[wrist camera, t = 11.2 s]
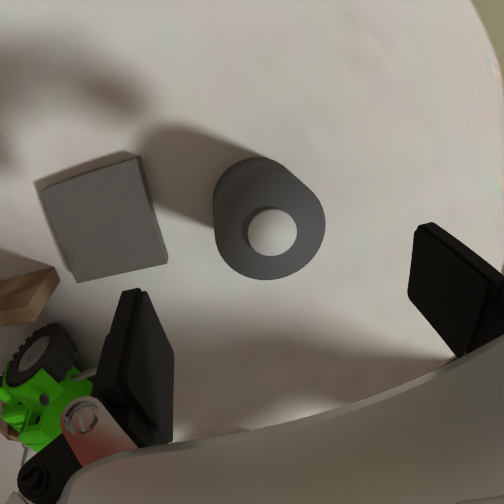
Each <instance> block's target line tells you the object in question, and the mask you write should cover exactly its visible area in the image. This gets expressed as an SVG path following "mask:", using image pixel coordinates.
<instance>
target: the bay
mask: <svg viewBox="0 0 504 504" xmlns="http://www.w3.org/2000/svg"><path fill="white" fill-rule="evenodd" d="M59 282H60V279H59V276H58V274H57V272H56V270H55V268H54V267H53V268H49V269H45V270H41V271H38V272H34V273H30V274H26V275H23V276H19V277H15V278H11V279H8V280H4V281H1V282H0V327H4V326H10V325H17V324H23V323H29V322H35V321H36V319H37V318H38V316H39V314H40V313H41V311H42V309H43V308H44V306H45V304H46V303H47V301H48V300H49V298H50V296H51V295H52V293H53V292H54V290H55V288H56V287H57V285H58V284H59ZM2 404H6V403H5V402H4V401H3V400H1V399H0V433H1V434H2V435H4V436H5V437H6V438H7V439H8V440H13V441H18V442H21V441H20V440H19V439H18V436H19V433H20V432H18V431H17V430H16V429H15V428H13V427H12V426H11V425H10V424H8V423H7V422H6V421H5V420H4V419H2V417H1V413H2V409H1V405H2Z"/></svg>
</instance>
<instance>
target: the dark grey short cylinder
mask: <svg viewBox="0 0 504 504" xmlns="http://www.w3.org/2000/svg"><path fill="white" fill-rule="evenodd" d="M213 215H214V231H215V240H216V245H217V248H218V251H219V253H220V255H221V256H222V258H223V259H224V261H225V262H226V263H227V264H228V265H229V266H230V267H231V268H232V269H233V270H235V271H236V272H238V273H239V274H242V275H244V276H246V277H249V278H253V279H258V280H274V279H279V278H283V277H286V276H289V275H291V274H293V273H295V272H297V271H298V270H300V269H301V268H303V267H304V266H305V265H306V264H308V263H309V262H310V260H311V259H312V258H313V257H314V256H315V254H316V253H317V251H318V250H319V248H320V246H321V243H322V241H323V237H324V233H325V215H324V211H323V208H322V206H321V203H320V201H319V200H318V198H317V197H316V195H315V194H314V193H313V192H312V191H311V190H310V189H309V188H308V187H307V186H306V185H305V184H303V183H302V182H301V181H300V180H299V179H298V178H297V177H296V176H294V175H293V174H292V173H291V172H290V171H289V170H288V169H286V168H285V167H284V166H283V165H281V164H280V163H278V162H275V161H273V160H270V159H265V158H250V159H246V160H243V161H240V162H238V163H236V164H234V165H233V166H231V167H230V168H229V169H227V170H226V171H225V172H224V173H223V175H222V176H221V177H220V179H219V181H218V182H217V184H216V187H215V190H214V194H213Z"/></svg>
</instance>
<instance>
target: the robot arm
mask: <svg viewBox="0 0 504 504" xmlns="http://www.w3.org/2000/svg"><path fill="white" fill-rule="evenodd" d="M407 292H408V297H409V299H410V301H411V302H412V303H413V304H414V305H415V306H416V308H417V309H418V310H419V311H420V312H421V313H422V315H423V316H424V317H425V318H426V319H427V321H428V322H429V323H430V324H431V325H432V327H433V328H434V329H435V330H436V332H437V333H438V334H439V335H440V336H441V338H442V339H443V340H444V341H445V343H446V344H447V345H448V346H449V348H450V349H451V350H452V352H453V353H454V354H455V355H456V357H457V358H458V359H456V360H455V361H453V362H451V363H449V364H447V365H445V366H443V367H441V368H438V369H436V370H434V371H432V372H430V373H427V374H425V375H423V376H421V377H419V378H416V379H414V380H412V381H409V382H407V383H404V384H402V385H400V386H397V387H395V388H392V389H389V390H387V391H384V392H382V393H379V394H376V395H374V396H371V397H368V398H365V399H362V400H360V401H357V402H354V403H351V404H348V405H345V406H342V407H338V408H335V409H332V410H329V411H325V412H322V413H319V414H315V415H312V416H308V417H305V418H301V419H297V420H293V421H289V422H285V423H281V424H277V425H273V426H268V427H264V428H259V429H254V430H249V431H244V432H239V433H234V434H228V435H223V436H217V437H211V438H205V439H198V440H191V441H184V442H176V443H170V444H168V443H169V442H172V441H173V384H174V353H173V350H172V347H171V345H170V343H169V341H168V339H167V337H166V334H165V332H164V330H163V328H162V326H161V323H160V321H159V319H158V316H157V314H156V312H155V310H154V307H153V305H152V302H151V300H150V298H149V295H148V293H147V292H146V291H143V292H142V291H141V289H140V288H135V289H131V290H126V291H122V293H121V296H120V299H119V303H118V306H117V309H116V312H115V316H114V319H113V322H112V326H111V329H110V333H109V334H108V335H107V336H106V338H105V342H104V345H103V349H102V352H101V356H100V360H99V363H98V367H97V371H96V375H95V379H94V383H93V387H92V392H91V396H83V397H80V398H77V399H75V400H73V401H71V402H70V403H69V404H68V405H67V406H66V407H65V409H64V410H63V412H62V414H61V417H60V428H61V431H62V433H61V434H60V435H59V436H57V437H56V438H55V439H54V440H53V441H51V442H50V443H49V444H48V445H47V446H45V447H44V448H43V449H42V450H40V451H39V452H38V453H37V454H36V455H34V456H33V457H32V458H31V459H29V460H28V461H27V462H26V463H25V464H24V465H23V466H22V467H21V469H20V471H19V473H18V478H17V482H18V483H17V484H18V488H19V491H18V493H16V492H15V491H13V492H12V494H11V495H10V497H9V498H8V500H7V501H6V503H5V504H504V276H503V275H502V274H501V273H500V272H499V271H497V270H496V269H495V268H494V267H493V266H491V265H490V264H489V263H488V262H486V261H485V260H484V259H483V258H481V257H480V256H479V255H477V254H476V253H475V252H474V251H472V250H471V249H470V248H468V247H467V246H466V245H464V244H463V243H462V242H460V241H459V240H458V239H456V238H455V237H453V236H452V235H451V234H449V233H448V232H447V231H445V230H444V229H442V228H441V227H440V226H438V225H437V224H435V223H433V222H430V223H426V224H422V225H419V226H418V228H417V230H416V231H415V232H414V239H413V250H412V259H411V268H410V276H409V283H408V291H407Z"/></svg>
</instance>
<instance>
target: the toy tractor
mask: <svg viewBox="0 0 504 504" xmlns="http://www.w3.org/2000/svg"><path fill="white" fill-rule="evenodd" d="M25 341H26V343H25V345H21V346H20V347H19V348H18V349H19V350H20V351H19V352H18V353H15V354H14V356H13V358H14V360H13V361H10V362H9V363H8V365H7V367H6V370H5V372H3V376H1V377H0V399H1V400H3V401H4V402H5V403H6V404H2V405H1V409H2V413H1V417H2V419H4V420H5V421H6V422H7V423H8V424H10V425H11V426H12V427H13V428H15V429H16V430H17V431H18V432H20V433H19V436H18V439H19V440H20V441H21V442H22V446H23V448H25V450H24V454H23V458H22V463H21V466H23V465H24V464H25V462H26V459H27V456H28V452H29V451H33V450H34V451H36V452H37V453H38V452H39V451H40V450H42V449H43V448H44V447H45V446H47V445H48V444H49V443H50V442H51V441H53V440H54V439H55V438H56V437H57V436H59V435H60V434H61V433H62V431H61V428H60V417H61V414H62V412H63V410H64V409H65V407H66V406H67V405H68V404H69V403H70V402H71V401H73V400H75V399H77V398H80V397H83V396H91V392H92V387H93V383H91V382H90V381H89V380H88V379H87V377H90V376H93V375H95V374H96V371H97V366H96V367H93V368H91V369H88V370H86V371H83V372H80V371H79V370H78V369H77V368H76V367H75V366H74V365H73V364H72V363H73V361H74V360H76V356H77V355H76V354H75V352H77V347H76V346H75V345H76V344H75V343H74V342H73V341H72V340H71V339H70V337H69V336H68V335H67V334H66V333H65V332H64V331H63V330H62V328H61V327H60V326H59V325H57V324H56V323H53V325H52V324H51V323H50V324H48V325H47V327H42V328H40V331H39V332H38V331H37V330H36V331H35V332H34V333H33V336H32V337H31V338H30V337H28V338H27V339H26V340H25Z"/></svg>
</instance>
